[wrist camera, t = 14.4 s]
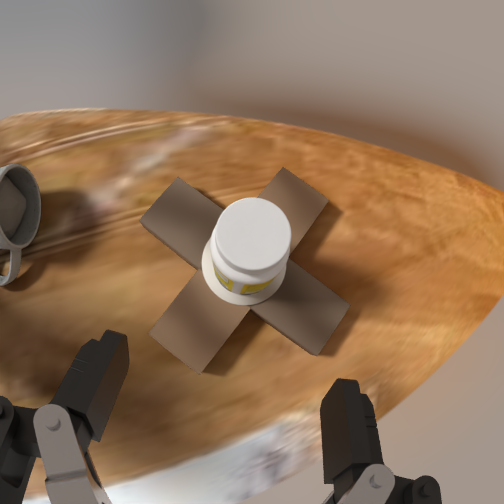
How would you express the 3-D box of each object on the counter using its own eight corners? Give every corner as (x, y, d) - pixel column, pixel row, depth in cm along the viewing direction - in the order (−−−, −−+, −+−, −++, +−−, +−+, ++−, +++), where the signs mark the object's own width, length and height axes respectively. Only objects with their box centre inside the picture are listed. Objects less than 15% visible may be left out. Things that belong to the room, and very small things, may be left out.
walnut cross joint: (264, 415, 23) (268, 422, 21) (98, 284, 25) (89, 280, 23) (376, 249, 28) (386, 244, 26) (225, 139, 29) (225, 127, 27)
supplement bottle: (282, 247, 25) (310, 208, 17) (263, 304, 24) (285, 291, 16) (225, 227, 25) (226, 179, 17) (204, 283, 24) (194, 259, 15)
